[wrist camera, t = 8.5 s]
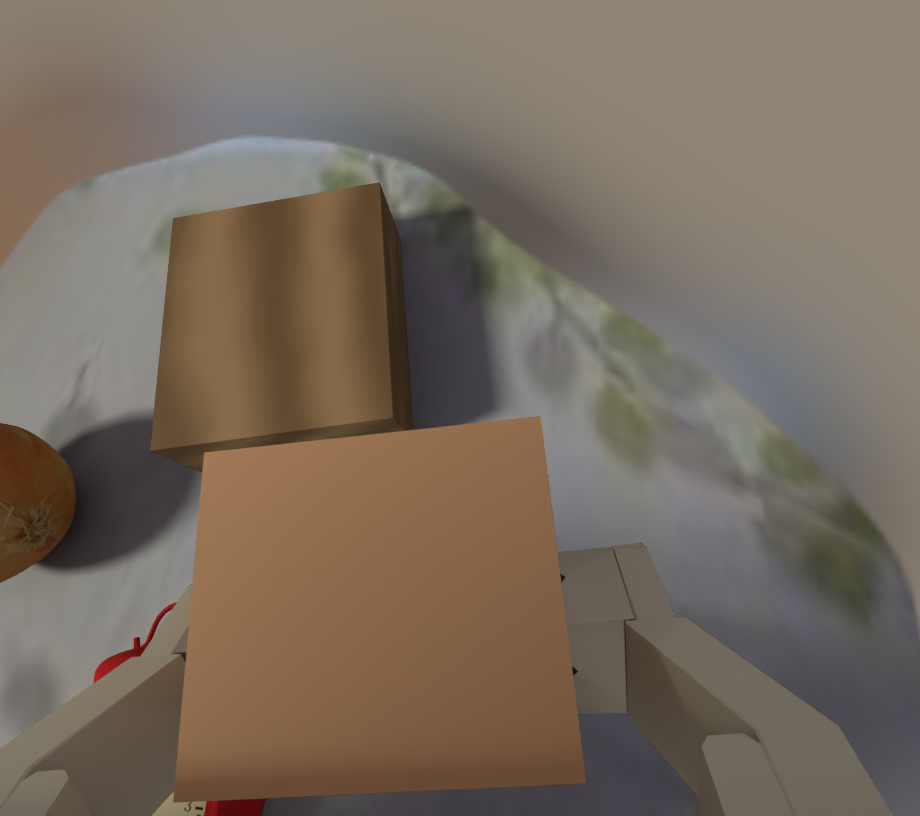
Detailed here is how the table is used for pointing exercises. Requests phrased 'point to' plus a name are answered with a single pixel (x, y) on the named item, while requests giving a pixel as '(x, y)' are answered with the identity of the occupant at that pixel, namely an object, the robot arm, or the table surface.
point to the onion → (31, 499)
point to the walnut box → (282, 326)
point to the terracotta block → (378, 619)
